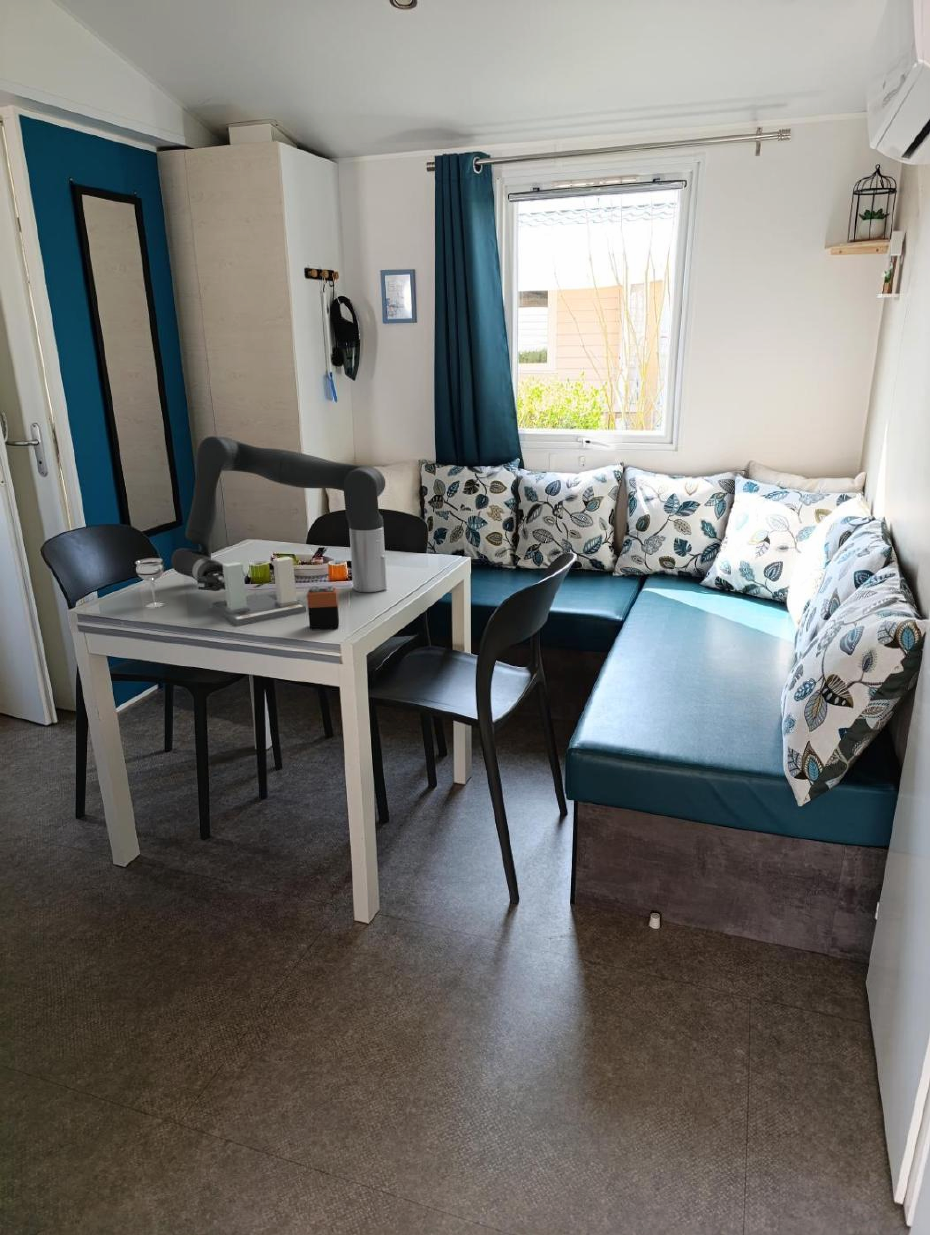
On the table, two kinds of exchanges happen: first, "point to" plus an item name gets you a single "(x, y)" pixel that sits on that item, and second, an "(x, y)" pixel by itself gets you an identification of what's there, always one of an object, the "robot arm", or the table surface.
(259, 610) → the grey square tray
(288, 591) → the cream tab
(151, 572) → the wineglass
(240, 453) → the robot arm
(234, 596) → the sage tab
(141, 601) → the table surface
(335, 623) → the battery
